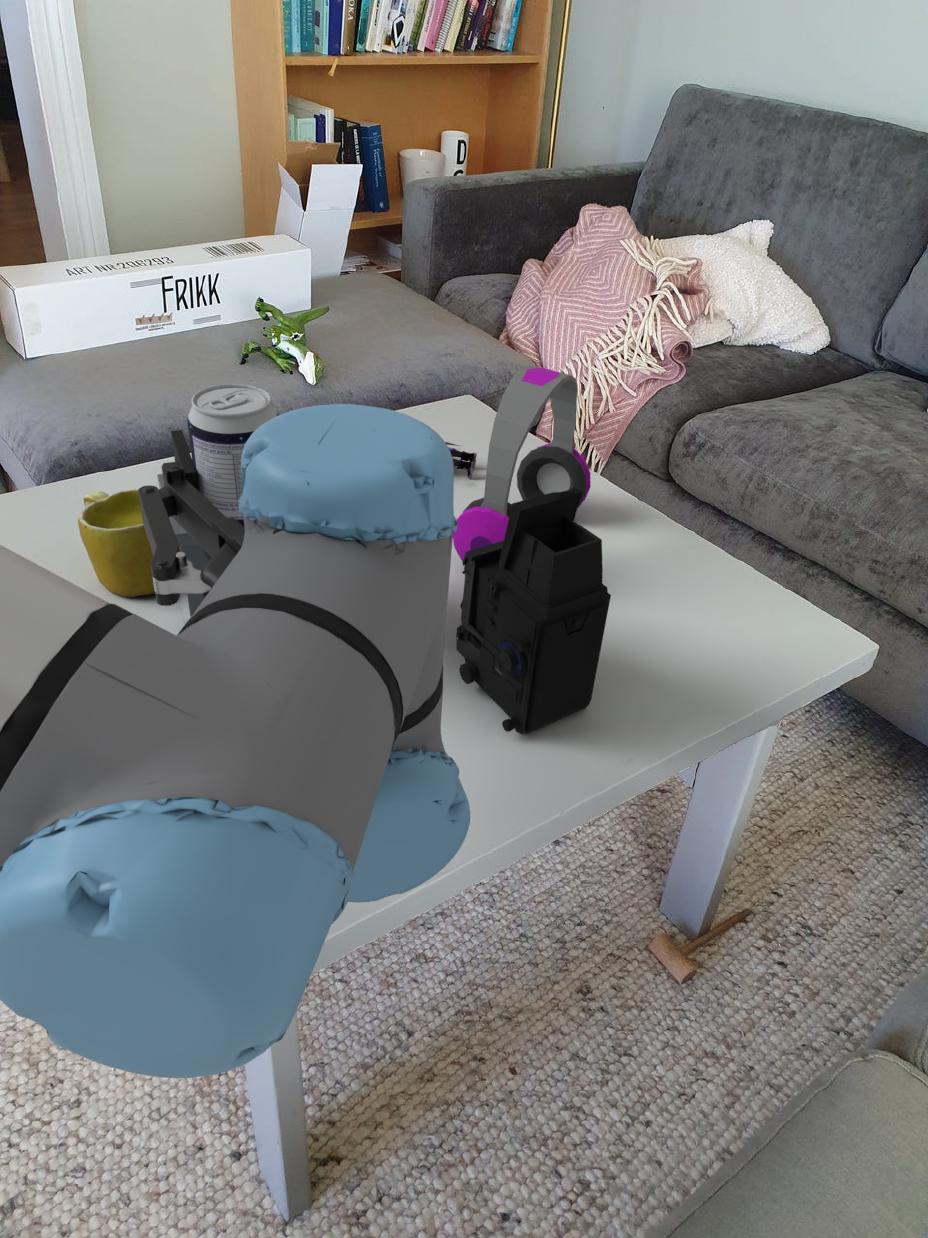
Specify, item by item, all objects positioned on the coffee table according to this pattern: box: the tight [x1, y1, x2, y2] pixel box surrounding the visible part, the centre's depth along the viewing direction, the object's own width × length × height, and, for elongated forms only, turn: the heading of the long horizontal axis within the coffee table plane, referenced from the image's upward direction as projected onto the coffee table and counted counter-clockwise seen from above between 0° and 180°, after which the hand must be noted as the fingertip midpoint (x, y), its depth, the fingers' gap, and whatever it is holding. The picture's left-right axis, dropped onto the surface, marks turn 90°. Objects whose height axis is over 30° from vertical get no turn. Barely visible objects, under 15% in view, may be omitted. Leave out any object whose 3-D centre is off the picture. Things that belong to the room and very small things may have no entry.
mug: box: [77, 488, 155, 598], centre depth 93 cm, size 12×10×10 cm
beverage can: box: [186, 383, 279, 561], centre depth 61 cm, size 6×6×12 cm
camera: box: [455, 487, 612, 734], centre depth 78 cm, size 10×14×20 cm
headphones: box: [452, 364, 592, 562], centre depth 99 cm, size 21×9×20 cm, turn 152°
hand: (225, 443), depth 65 cm, fingers closed on beverage can, 6 cm apart
